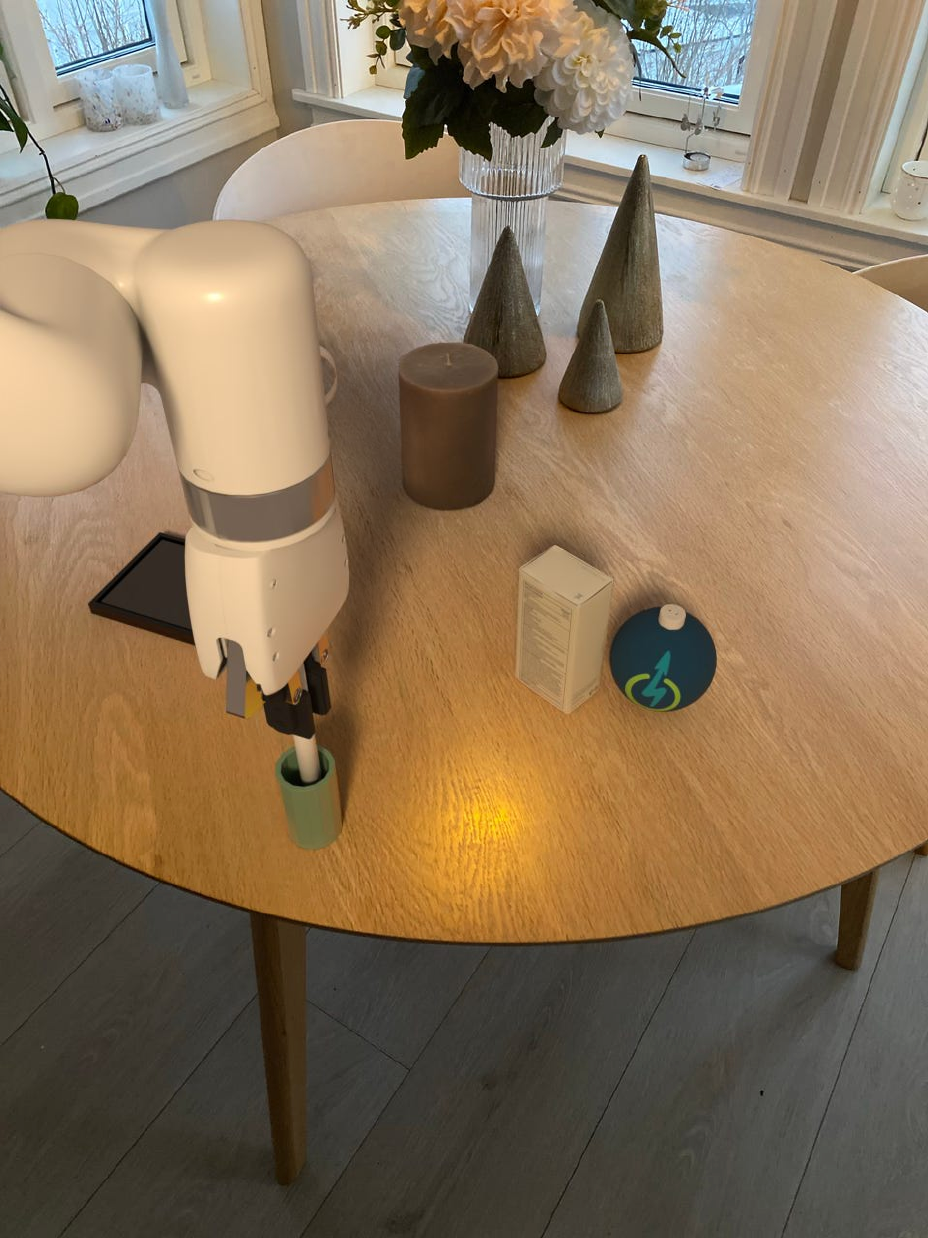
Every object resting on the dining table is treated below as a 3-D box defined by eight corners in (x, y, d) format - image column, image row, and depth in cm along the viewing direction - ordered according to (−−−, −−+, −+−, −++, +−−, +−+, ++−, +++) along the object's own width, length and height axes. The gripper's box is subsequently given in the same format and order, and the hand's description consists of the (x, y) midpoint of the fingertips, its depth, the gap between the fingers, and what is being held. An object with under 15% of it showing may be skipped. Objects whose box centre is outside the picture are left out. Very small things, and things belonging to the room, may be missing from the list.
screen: (101, 603, 85) (100, 601, 85) (162, 541, 92) (162, 539, 91) (242, 647, 82) (242, 644, 81) (296, 579, 88) (295, 577, 88)
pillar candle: (485, 517, 96) (490, 383, 86) (391, 504, 98) (384, 371, 87) (501, 463, 103) (508, 333, 93) (413, 451, 105) (410, 323, 94)
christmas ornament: (583, 696, 79) (596, 607, 72) (641, 643, 84) (658, 555, 77) (669, 750, 75) (692, 662, 68) (725, 691, 80) (751, 603, 73)
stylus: (300, 801, 67) (274, 662, 57) (310, 786, 68) (286, 647, 58) (318, 807, 66) (295, 669, 57) (328, 792, 67) (306, 653, 58)
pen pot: (276, 840, 69) (263, 780, 64) (303, 796, 71) (293, 736, 67) (326, 858, 68) (317, 799, 63) (351, 813, 70) (345, 753, 66)
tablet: (90, 613, 85) (87, 603, 85) (162, 541, 93) (159, 531, 92) (247, 662, 81) (245, 652, 80) (308, 582, 89) (307, 573, 88)
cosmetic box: (601, 690, 80) (619, 580, 71) (565, 718, 77) (580, 608, 69) (545, 651, 83) (556, 541, 74) (509, 677, 81) (516, 567, 72)
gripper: (271, 393, 55) (305, 624, 68) (102, 556, 44) (181, 793, 57) (390, 420, 53) (403, 653, 66) (244, 597, 42) (292, 833, 55)
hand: (299, 717), depth 61 cm, fingers closed on stylus, 1 cm apart
